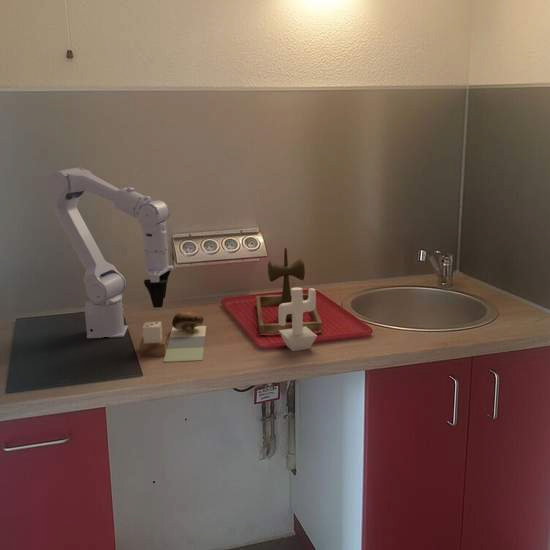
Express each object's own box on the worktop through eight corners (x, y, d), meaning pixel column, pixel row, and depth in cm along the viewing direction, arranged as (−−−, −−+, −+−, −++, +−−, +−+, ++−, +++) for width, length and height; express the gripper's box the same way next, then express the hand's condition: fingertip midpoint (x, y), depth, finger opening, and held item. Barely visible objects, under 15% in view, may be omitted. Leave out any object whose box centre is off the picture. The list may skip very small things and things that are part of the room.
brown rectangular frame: (259, 335, 176) (259, 325, 176) (256, 305, 201) (256, 296, 201) (321, 333, 177) (321, 322, 176) (310, 302, 202) (310, 293, 201)
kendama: (306, 320, 187) (305, 248, 182) (271, 323, 186) (269, 251, 180) (302, 313, 193) (300, 244, 188) (268, 316, 191) (266, 246, 186)
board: (163, 362, 161) (163, 361, 161) (172, 327, 184) (172, 327, 184) (202, 360, 161) (202, 359, 161) (206, 326, 184) (206, 325, 184)
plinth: (140, 356, 164) (139, 345, 163) (143, 347, 170) (142, 336, 169) (165, 355, 165) (164, 344, 164) (167, 346, 170) (166, 335, 170)
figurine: (274, 344, 170) (273, 286, 166) (310, 339, 173) (309, 282, 169) (284, 355, 163) (283, 294, 159) (321, 349, 166) (321, 289, 162)
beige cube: (143, 343, 164) (142, 327, 163) (145, 337, 168) (144, 322, 167) (160, 342, 165) (159, 326, 164) (162, 336, 169) (161, 321, 168)
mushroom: (196, 327, 173) (191, 304, 176) (169, 337, 176) (164, 314, 178) (210, 332, 181) (206, 310, 183) (184, 341, 183) (180, 319, 185)
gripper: (170, 256, 163) (173, 310, 166) (174, 242, 177) (177, 293, 180) (139, 257, 162) (143, 311, 166) (146, 243, 176) (150, 294, 180)
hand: (159, 302), depth 173 cm, fingers open, 7 cm apart
